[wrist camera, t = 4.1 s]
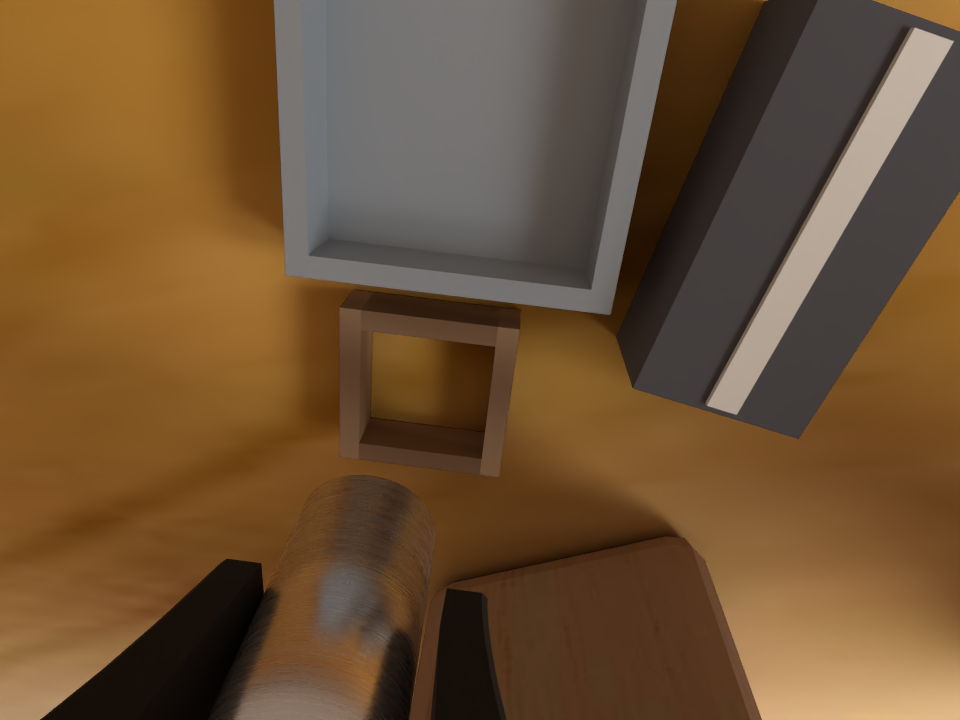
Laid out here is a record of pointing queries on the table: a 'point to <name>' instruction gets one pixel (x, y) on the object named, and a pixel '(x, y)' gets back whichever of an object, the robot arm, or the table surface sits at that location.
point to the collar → (410, 439)
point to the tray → (466, 142)
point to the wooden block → (605, 639)
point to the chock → (799, 211)
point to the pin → (339, 611)
